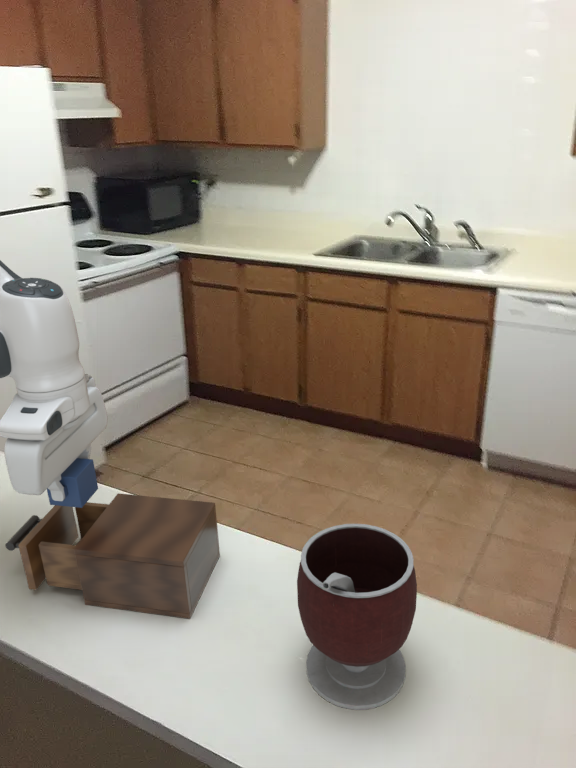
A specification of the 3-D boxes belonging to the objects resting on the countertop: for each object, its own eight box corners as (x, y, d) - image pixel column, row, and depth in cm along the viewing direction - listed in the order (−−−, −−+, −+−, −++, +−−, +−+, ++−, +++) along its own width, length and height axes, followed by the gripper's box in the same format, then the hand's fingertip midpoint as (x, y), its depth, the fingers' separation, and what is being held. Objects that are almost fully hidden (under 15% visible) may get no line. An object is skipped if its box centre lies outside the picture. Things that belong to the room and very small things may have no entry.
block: (49, 504, 95) (43, 474, 93) (67, 485, 99) (61, 456, 97) (82, 508, 94) (76, 477, 92) (98, 488, 98) (93, 459, 96)
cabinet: (84, 604, 95) (73, 548, 91) (126, 544, 107) (117, 493, 103) (190, 618, 92) (183, 561, 88) (220, 555, 104) (215, 502, 100)
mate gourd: (327, 614, 92) (326, 490, 84) (426, 647, 86) (435, 518, 78) (274, 699, 79) (266, 564, 71) (385, 745, 73) (390, 604, 65)
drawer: (1, 585, 98) (-11, 541, 95) (46, 533, 109) (37, 492, 106) (122, 601, 94) (114, 556, 91) (156, 545, 105) (150, 503, 102)
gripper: (71, 368, 100) (86, 448, 106) (-12, 432, 82) (11, 525, 87) (110, 370, 99) (123, 451, 104) (34, 435, 80) (55, 530, 86)
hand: (72, 486), depth 96 cm, fingers closed on block, 5 cm apart
